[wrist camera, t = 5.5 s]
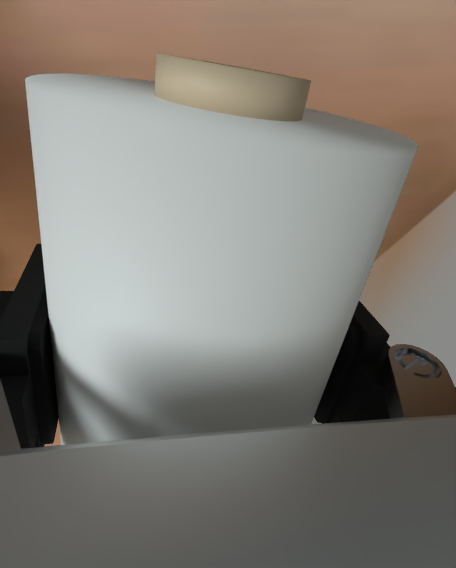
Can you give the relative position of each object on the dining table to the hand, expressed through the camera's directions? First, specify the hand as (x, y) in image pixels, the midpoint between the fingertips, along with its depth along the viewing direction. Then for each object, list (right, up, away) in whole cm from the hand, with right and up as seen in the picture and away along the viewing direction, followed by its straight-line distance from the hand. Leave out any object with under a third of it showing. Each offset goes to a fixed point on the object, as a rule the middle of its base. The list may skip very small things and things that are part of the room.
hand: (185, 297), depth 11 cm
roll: (0, +1, +1) cm, 1 cm away
